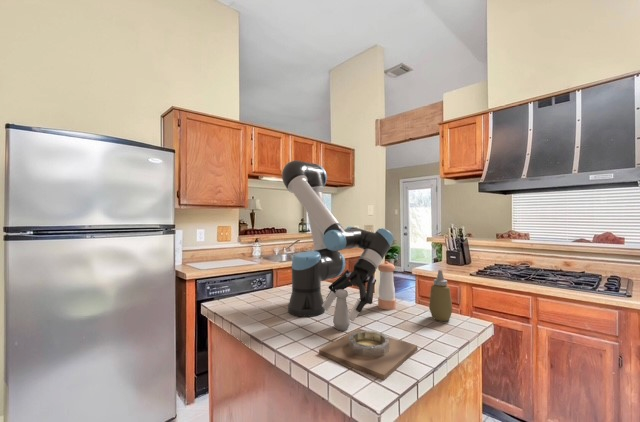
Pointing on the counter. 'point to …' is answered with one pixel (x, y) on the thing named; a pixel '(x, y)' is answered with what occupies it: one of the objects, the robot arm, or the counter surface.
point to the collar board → (370, 362)
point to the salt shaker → (341, 311)
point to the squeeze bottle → (440, 299)
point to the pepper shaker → (386, 287)
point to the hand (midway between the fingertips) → (336, 313)
